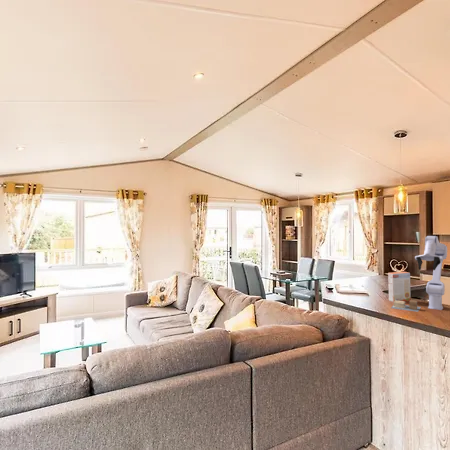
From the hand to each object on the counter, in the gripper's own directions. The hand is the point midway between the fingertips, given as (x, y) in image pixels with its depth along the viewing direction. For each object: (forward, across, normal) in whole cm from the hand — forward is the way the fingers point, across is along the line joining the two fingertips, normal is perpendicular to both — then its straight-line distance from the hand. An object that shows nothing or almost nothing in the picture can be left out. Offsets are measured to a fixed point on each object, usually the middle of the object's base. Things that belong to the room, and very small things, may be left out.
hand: (426, 268), depth 200 cm
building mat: (+10, -18, +31) cm, 37 cm away
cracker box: (-3, -27, +44) cm, 51 cm away
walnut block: (+10, -13, +30) cm, 35 cm away
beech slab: (+9, -22, +31) cm, 39 cm away
